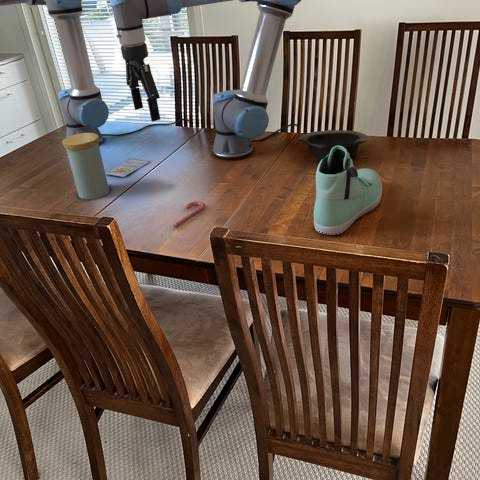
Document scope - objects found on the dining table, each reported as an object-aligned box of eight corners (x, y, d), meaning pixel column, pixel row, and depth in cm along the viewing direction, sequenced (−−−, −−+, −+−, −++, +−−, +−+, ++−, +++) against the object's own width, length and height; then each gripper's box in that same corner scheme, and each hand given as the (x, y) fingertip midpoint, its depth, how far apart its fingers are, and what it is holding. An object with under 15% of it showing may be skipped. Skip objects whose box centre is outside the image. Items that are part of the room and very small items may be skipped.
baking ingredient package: (104, 172, 173) (130, 158, 184) (104, 174, 173) (130, 159, 184) (124, 176, 169) (148, 161, 181) (124, 177, 169) (149, 162, 181)
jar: (115, 190, 161) (103, 138, 151) (89, 202, 155) (74, 148, 145) (98, 183, 167) (86, 132, 157) (72, 194, 161) (58, 141, 151)
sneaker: (389, 187, 148) (396, 123, 138) (356, 242, 123) (361, 168, 112) (346, 181, 154) (350, 119, 144) (306, 232, 129) (307, 161, 118)
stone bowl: (326, 174, 159) (325, 147, 154) (286, 157, 179) (284, 133, 175) (384, 156, 168) (385, 130, 163) (340, 142, 188) (339, 118, 184)
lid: (106, 141, 152) (105, 136, 151) (75, 152, 145) (73, 147, 144) (87, 135, 159) (86, 130, 158) (56, 145, 152) (55, 140, 151)
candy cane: (161, 224, 139) (160, 219, 138) (194, 202, 149) (194, 198, 148) (177, 229, 135) (176, 224, 135) (209, 207, 145) (209, 202, 145)
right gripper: (106, 39, 146) (122, 107, 159) (137, 54, 129) (152, 128, 141) (129, 34, 149) (142, 101, 162) (162, 48, 132) (175, 122, 144)
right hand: (147, 114), depth 151 cm, fingers open, 13 cm apart
